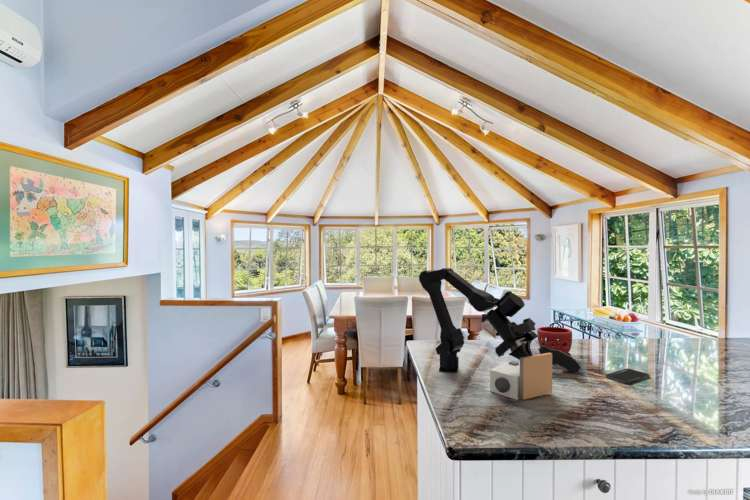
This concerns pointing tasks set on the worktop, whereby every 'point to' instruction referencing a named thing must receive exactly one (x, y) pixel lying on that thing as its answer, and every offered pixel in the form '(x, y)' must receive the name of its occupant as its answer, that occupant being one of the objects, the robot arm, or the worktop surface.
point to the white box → (506, 379)
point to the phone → (627, 376)
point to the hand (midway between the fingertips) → (535, 366)
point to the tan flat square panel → (535, 375)
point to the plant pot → (555, 338)
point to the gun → (561, 359)
